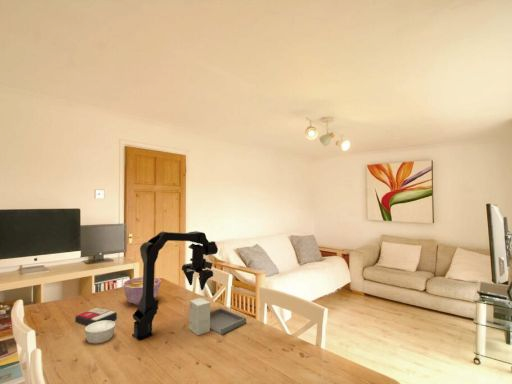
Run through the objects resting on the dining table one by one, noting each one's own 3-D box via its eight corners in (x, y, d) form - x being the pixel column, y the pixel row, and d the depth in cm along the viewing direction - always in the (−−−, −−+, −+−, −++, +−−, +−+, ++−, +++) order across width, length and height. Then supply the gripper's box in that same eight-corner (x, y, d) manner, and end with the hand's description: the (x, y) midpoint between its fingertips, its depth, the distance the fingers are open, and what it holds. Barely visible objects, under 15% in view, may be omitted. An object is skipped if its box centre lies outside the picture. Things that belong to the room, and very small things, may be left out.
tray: (222, 335, 122) (222, 329, 122) (196, 322, 134) (196, 317, 134) (245, 323, 133) (246, 318, 133) (220, 312, 145) (220, 307, 145)
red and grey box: (96, 306, 142) (117, 310, 136) (96, 315, 142) (117, 319, 136) (74, 314, 132) (95, 319, 126) (74, 324, 132) (95, 329, 126)
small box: (210, 331, 125) (210, 302, 125) (197, 335, 121) (198, 305, 121) (201, 324, 131) (201, 297, 131) (188, 328, 127) (189, 300, 127)
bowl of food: (114, 305, 152) (114, 284, 152) (141, 294, 171) (142, 275, 171) (141, 312, 144) (142, 289, 145) (168, 299, 163) (168, 279, 163)
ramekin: (120, 336, 119) (120, 324, 119) (92, 348, 110) (93, 335, 110) (106, 329, 125) (106, 317, 126) (79, 339, 116) (80, 327, 116)
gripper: (222, 257, 140) (220, 288, 140) (199, 251, 152) (197, 279, 152) (204, 261, 132) (203, 294, 132) (181, 254, 144) (180, 284, 144)
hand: (196, 287), depth 140 cm, fingers open, 9 cm apart
